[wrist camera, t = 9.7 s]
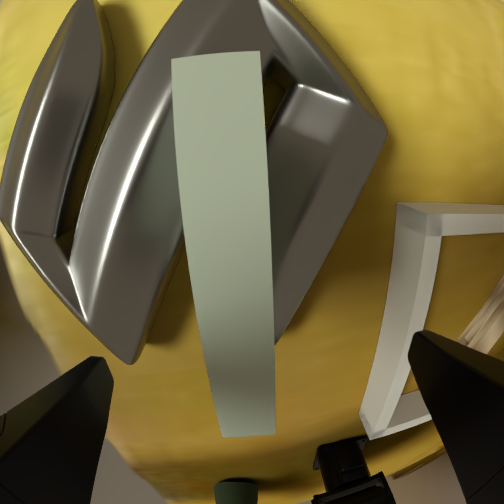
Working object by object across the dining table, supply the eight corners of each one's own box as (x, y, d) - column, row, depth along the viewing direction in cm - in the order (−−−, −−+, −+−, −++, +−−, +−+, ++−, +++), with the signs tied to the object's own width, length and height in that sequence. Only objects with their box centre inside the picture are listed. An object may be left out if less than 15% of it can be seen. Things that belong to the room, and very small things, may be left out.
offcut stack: (465, 350, 26) (478, 363, 23) (454, 339, 25) (468, 353, 22) (520, 271, 23) (535, 281, 20) (512, 254, 22) (530, 263, 19)
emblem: (-22, 37, 8) (364, -52, 9) (14, 48, 13) (339, -19, 14) (38, 374, 17) (391, 351, 18) (63, 339, 22) (364, 313, 23)
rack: (478, 372, 28) (493, 389, 24) (358, 414, 27) (369, 440, 23) (526, 206, 20) (550, 215, 16) (396, 202, 19) (427, 214, 16)
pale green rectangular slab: (259, 323, 17) (275, 433, 9) (225, 326, 17) (222, 437, 9) (246, 106, 13) (260, 51, 5) (205, 109, 13) (171, 59, 5)
